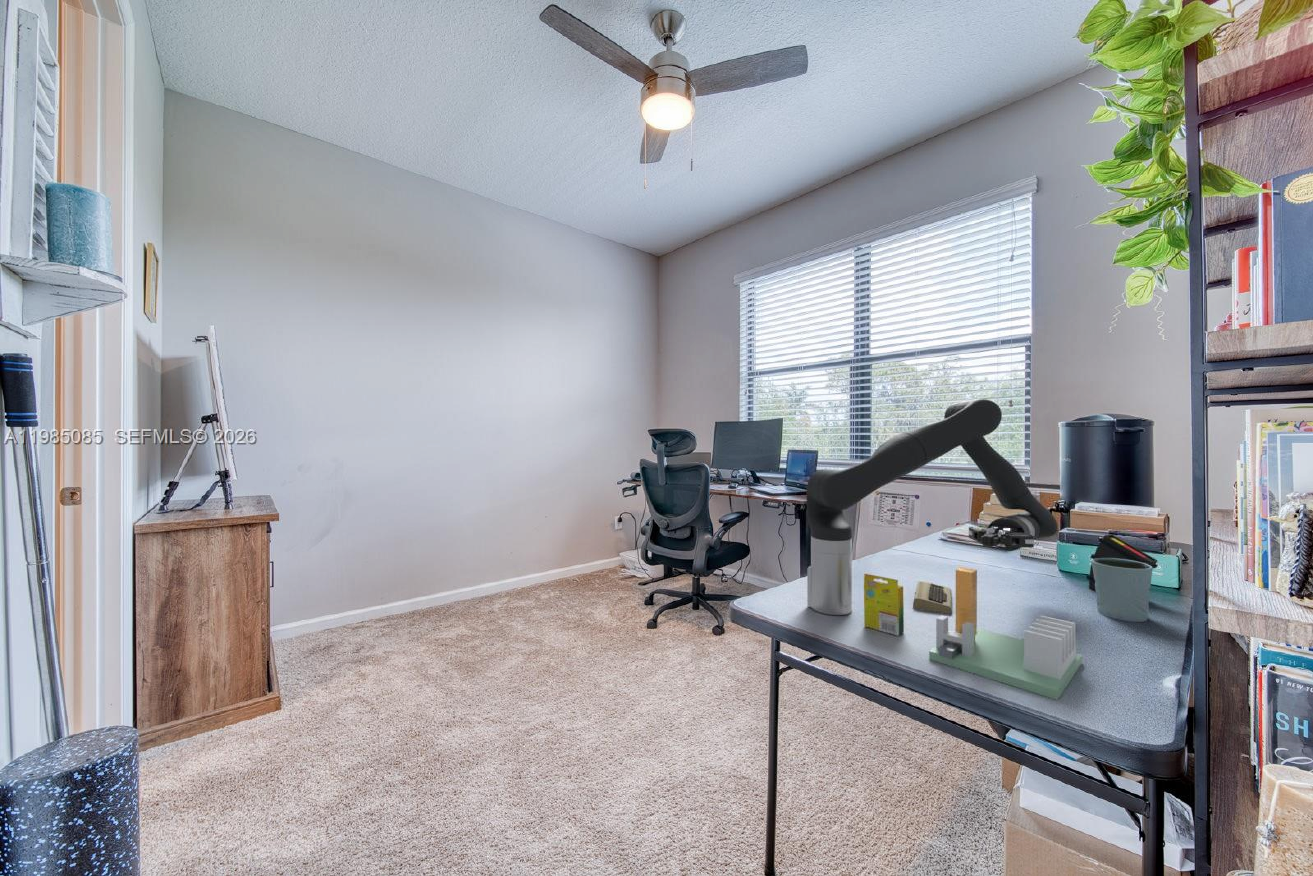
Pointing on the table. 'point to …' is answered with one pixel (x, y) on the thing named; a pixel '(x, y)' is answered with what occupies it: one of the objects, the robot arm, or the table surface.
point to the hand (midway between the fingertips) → (987, 541)
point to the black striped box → (1118, 554)
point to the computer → (933, 598)
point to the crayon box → (883, 605)
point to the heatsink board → (1016, 654)
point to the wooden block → (963, 608)
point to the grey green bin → (1122, 588)
